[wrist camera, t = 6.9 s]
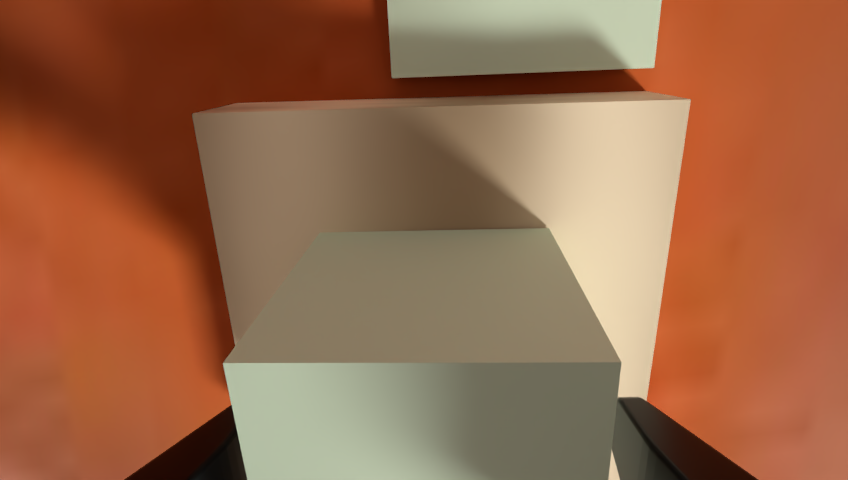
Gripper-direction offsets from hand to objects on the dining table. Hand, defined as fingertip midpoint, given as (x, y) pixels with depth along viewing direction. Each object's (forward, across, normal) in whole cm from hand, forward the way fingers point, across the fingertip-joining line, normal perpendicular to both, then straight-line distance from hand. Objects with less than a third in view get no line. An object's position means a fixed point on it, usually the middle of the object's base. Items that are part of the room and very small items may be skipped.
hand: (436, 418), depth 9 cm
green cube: (+3, 0, 0) cm, 3 cm away
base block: (+6, 0, 0) cm, 6 cm away
